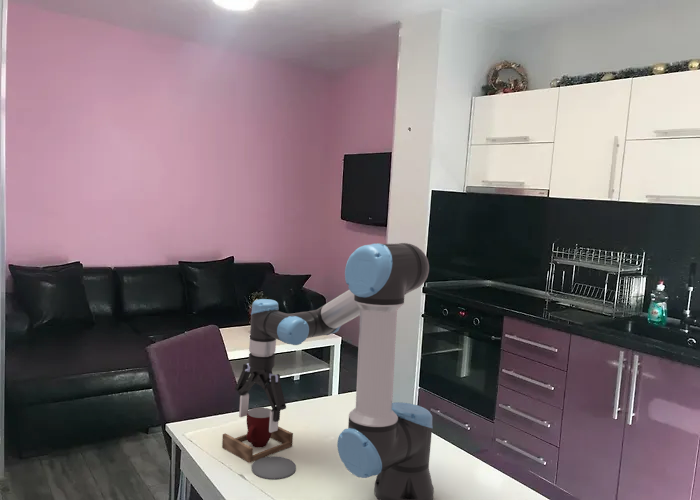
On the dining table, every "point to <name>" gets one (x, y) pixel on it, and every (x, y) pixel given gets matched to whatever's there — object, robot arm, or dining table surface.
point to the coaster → (273, 467)
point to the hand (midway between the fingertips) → (258, 423)
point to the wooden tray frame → (246, 451)
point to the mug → (258, 427)
